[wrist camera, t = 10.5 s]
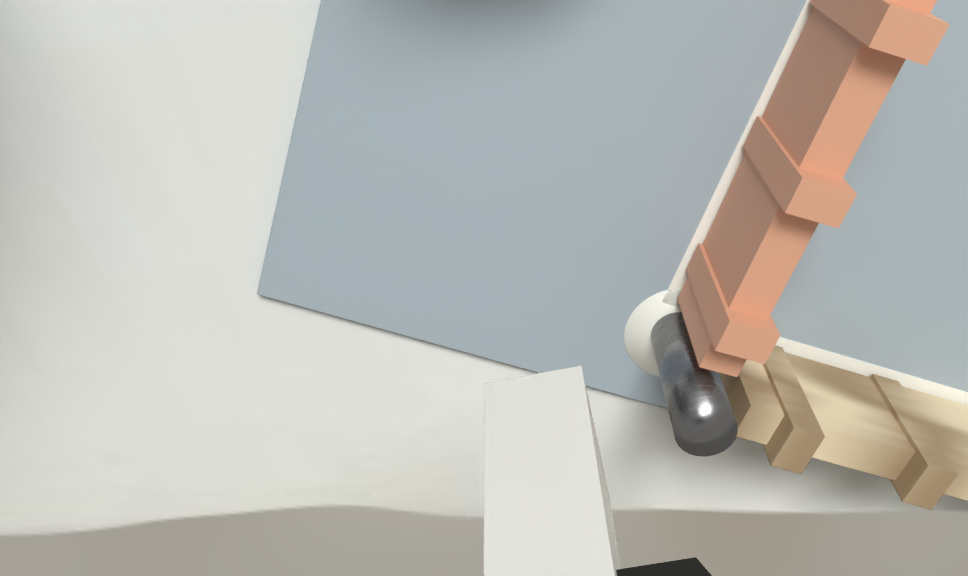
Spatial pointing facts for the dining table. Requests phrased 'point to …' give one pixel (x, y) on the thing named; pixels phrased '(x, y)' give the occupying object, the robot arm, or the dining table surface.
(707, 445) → the hinge post
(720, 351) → the swing panel
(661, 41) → the card
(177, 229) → the dining table surface
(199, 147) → the dining table surface
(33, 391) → the dining table surface
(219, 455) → the dining table surface
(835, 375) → the fixed panel
